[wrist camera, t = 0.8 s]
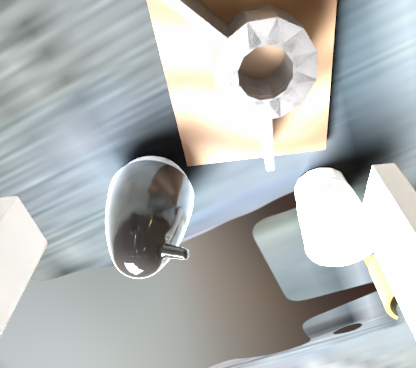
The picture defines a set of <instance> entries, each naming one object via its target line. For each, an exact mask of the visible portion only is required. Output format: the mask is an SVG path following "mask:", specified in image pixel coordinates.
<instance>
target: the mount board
mask: <svg viewBox="0 0 416 368" xmlns="http://www.w3.org/2000/svg"><path fill="white" fill-rule="evenodd" d="M146 1H147V5H148V9H149V13H150V17H151V21H152V25H153V29H154V33H155V37H156V41H157V45H158V49H159V53H160V57H161V61H162V65H163V70H164V74H165V78H166V82H167V86H168V90H169V94H170V98H171V102H172V106H173V110H174V114H175V118H176V122H177V126H178V130H179V134H180V139H181V143H182V147H183V151H184V155H185V159H186V163H187V166H195V165H203V164H212V163H220V162H228V161H236V160H244V159H252V158H261V157H264V156H263V151H262V146H261V134H260V120H259V121H254V120H251V119H248V118H245V117H243V116H240V115H237V114H234V113H232V112H231V110H230V109H229V108H228V107H227V106H226V104H225V103H224V102H223V101H222V100H221V98H220V97H219V96H218V95H217V90H216V84H215V77H214V70H213V49H214V47H215V45H216V42H215V41H214V40H212V39H211V38H210V37H208V36H207V35H206V34H205V33H203V32H202V31H201V30H199V29H198V28H197V27H195V26H194V25H193V24H192V23H190V22H189V21H188V20H186V19H185V18H184V17H182V16H181V15H180V14H179V13H177V12H176V11H175V10H173V9H172V8H171V7H169V6H168V5H167V4H166V3H164V2H163V1H162V0H146ZM199 1H200V2H201V3H202V4H204V5H205V6H206V7H207V8H209V9H210V10H211V11H212V12H214V13H215V14H216V15H217V16H218V17H220V18H221V19H222V20H223V21H225V22H228V21H229V20H230V19H231V18H232V17H234V16H235V15H236V14H237V13H238V12H239V11H241V10H242V9H243V8H247V7H253V6H259V5H265V4H271V5H273V6H275V7H278V8H280V9H282V10H284V11H287V12H289V13H291V14H293V15H294V16H295V18H296V19H297V20H298V21H299V23H300V24H301V25H302V26H303V28H304V29H305V31H306V33H307V35H308V36H309V38H310V40H311V41H312V43H313V45H314V47H315V48H316V50H317V51H318V62H317V80H316V82H315V83H314V85H313V87H312V88H311V90H310V92H309V93H308V95H307V97H306V98H305V100H304V102H303V103H302V104H300V105H299V106H297V107H296V108H294V109H293V110H291V111H290V112H288V113H287V114H285V115H284V116H282V117H281V118H274V119H272V129H273V152H274V156H277V155H285V154H293V153H302V152H310V151H318V150H326V140H327V127H328V114H329V100H330V87H331V74H332V61H333V47H334V34H335V21H336V7H337V0H199ZM282 60H283V50H282V49H280V48H277V47H275V46H272V45H269V46H263V47H257V48H255V49H254V50H253V51H251V52H250V53H249V54H247V55H246V56H245V57H244V58H243V60H242V62H241V65H240V67H239V70H240V71H241V72H242V74H243V75H245V76H248V77H251V78H253V79H258V78H265V77H268V76H269V75H271V74H272V73H273V72H275V71H276V70H277V69H278V67H279V65H280V63H281V61H282Z"/></svg>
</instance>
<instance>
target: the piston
mask: <svg viewBox="0 0 416 368" xmlns="http://www.w3.org/2000/svg"><path fill="white" fill-rule="evenodd" d="M364 261H365V264H366V266H367V267H368V269H369V273H370V275H371V277H372V280H373V282H374V284H375V286H376V289H377V291H378V293H379V296H380V298H381V300H382V303H383V305H384V307H385V309H386V312H387V313H388V314H389V315H390V316H391V317H392V318H394V319H396V320H397V318H398V314H397V311H396V306H397V305H398V302H397V300H396V297H395V295H394V293H393V291H392V289H391V287H390V285H389V283H388V281H387V279H386V276H385V274H384V272H383V270H382V268H381V266H380V264H379V262H378V260H377V257H376V255H375V253H374V251H373V252H372V253H371V254H370V255H368V256H367V257H366V258H364Z"/></svg>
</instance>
